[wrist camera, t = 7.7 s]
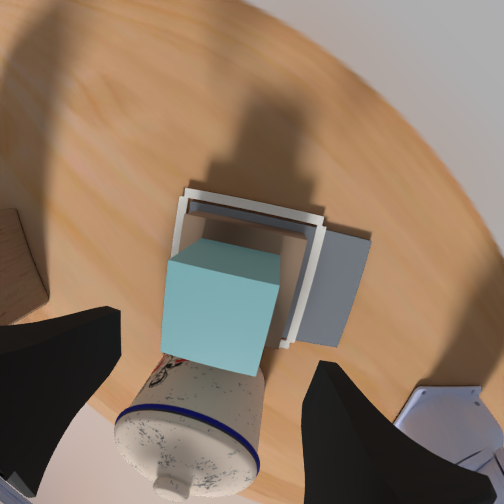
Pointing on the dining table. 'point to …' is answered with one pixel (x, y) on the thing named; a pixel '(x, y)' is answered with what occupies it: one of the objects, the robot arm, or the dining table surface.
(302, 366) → the dining table surface
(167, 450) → the teacup with lid
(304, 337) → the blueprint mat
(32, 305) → the wooden block
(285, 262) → the walnut base
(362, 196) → the dining table surface
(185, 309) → the teal cube
